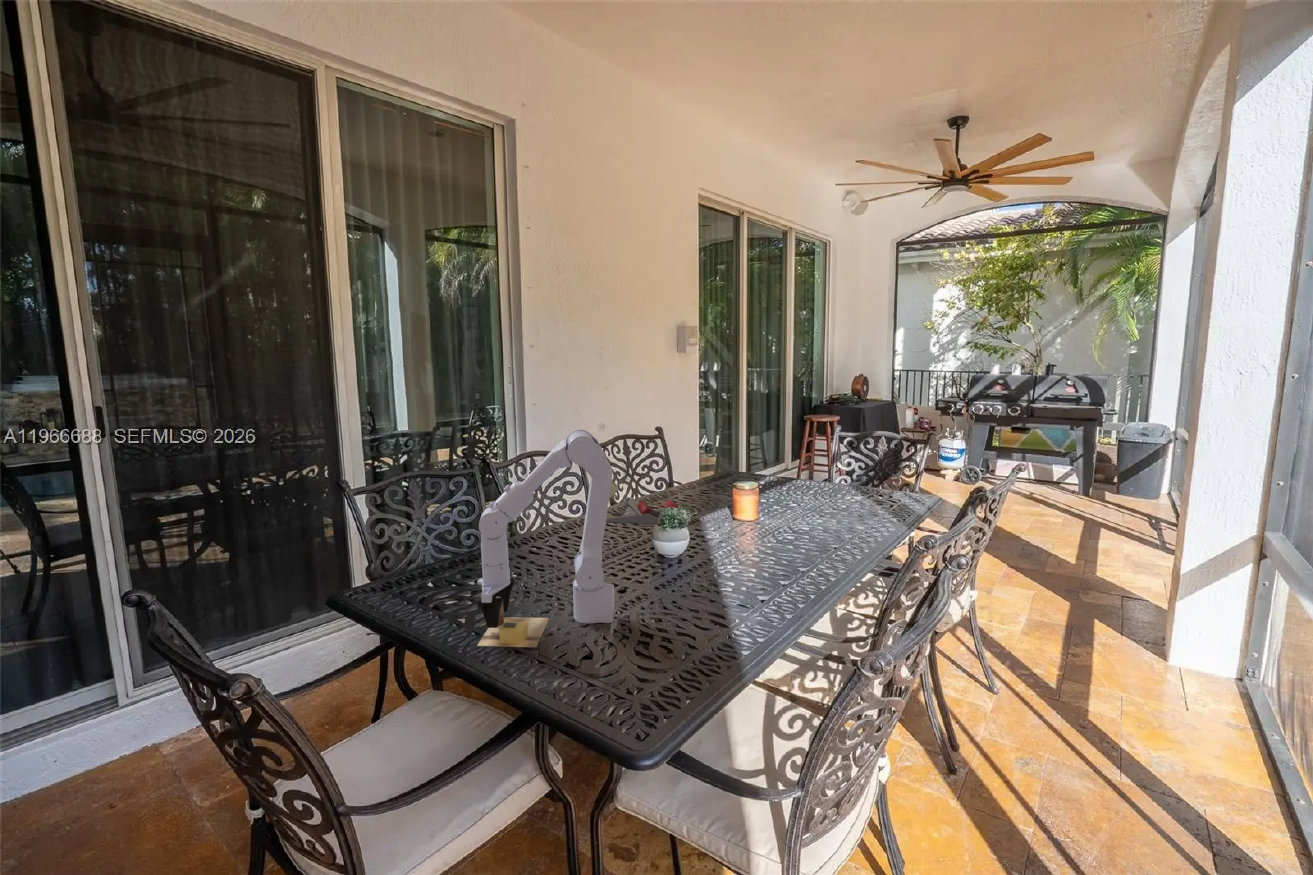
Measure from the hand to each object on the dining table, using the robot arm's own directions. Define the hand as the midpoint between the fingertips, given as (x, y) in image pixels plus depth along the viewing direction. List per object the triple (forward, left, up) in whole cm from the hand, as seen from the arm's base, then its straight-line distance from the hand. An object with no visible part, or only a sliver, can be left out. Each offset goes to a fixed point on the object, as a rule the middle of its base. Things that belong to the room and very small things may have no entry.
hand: (497, 618), depth 138 cm
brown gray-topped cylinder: (0, 0, -1) cm, 1 cm away
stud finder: (-6, +7, -1) cm, 9 cm away
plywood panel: (-5, +3, -2) cm, 6 cm away
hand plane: (-24, -80, -3) cm, 84 cm away
